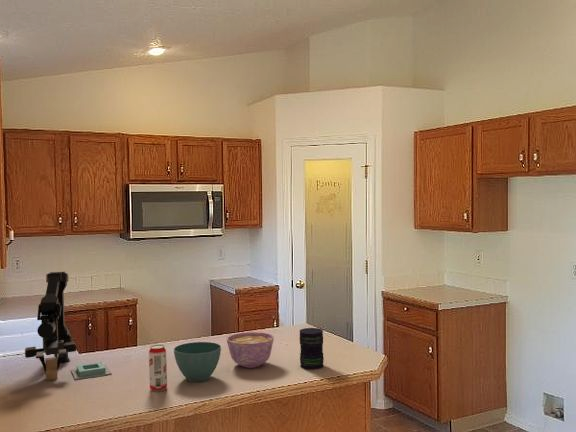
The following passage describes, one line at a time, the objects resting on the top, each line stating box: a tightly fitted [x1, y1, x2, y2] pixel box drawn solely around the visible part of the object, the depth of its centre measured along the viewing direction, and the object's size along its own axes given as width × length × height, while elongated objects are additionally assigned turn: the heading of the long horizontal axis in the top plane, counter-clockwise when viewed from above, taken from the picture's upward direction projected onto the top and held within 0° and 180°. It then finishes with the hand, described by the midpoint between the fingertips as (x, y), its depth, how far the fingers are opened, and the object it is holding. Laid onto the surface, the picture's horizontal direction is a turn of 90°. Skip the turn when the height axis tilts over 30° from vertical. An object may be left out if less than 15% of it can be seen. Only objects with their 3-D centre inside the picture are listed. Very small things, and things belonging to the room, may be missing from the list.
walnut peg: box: [44, 356, 59, 382], centre depth 230 cm, size 4×4×8 cm
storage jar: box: [299, 327, 325, 371], centre depth 239 cm, size 10×10×15 cm
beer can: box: [148, 344, 168, 393], centre depth 214 cm, size 6×6×16 cm
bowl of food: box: [226, 331, 275, 369], centre depth 243 cm, size 20×20×12 cm
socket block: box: [70, 361, 112, 381], centre depth 237 cm, size 14×14×2 cm
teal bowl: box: [173, 341, 222, 383], centre depth 226 cm, size 18×18×12 cm
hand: (51, 371), depth 230 cm, fingers closed on walnut peg, 4 cm apart
